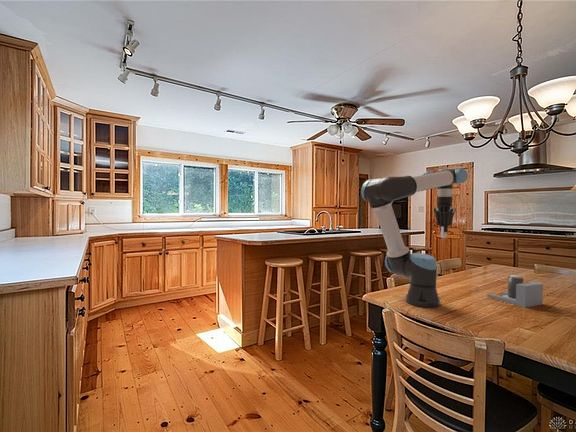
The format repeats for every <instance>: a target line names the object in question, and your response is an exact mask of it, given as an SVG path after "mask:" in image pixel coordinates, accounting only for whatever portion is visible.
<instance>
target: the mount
mask: <svg viewBox="0 0 576 432" xmlns="http://www.w3.org/2000/svg"><path fill="white" fill-rule="evenodd" d="M505 295H508V291H501V296H500V295H498V294H492V293H490V292H489V293H487V294H486V297H488V298H492V299H494V300H497V301H501V302H505V303H508V304H512V305H515V306H518V307H522V308H530V307H535V306H541V305H543V302H544V301H543V299H544V298H543V297H544V283H540V282H535V281H530V282H523V283H522V284H516V301H515V300H511V299H508V298H504V297H502V296H505Z"/></svg>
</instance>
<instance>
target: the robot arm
mask: <svg viewBox="0 0 576 432" xmlns="http://www.w3.org/2000/svg"><path fill="white" fill-rule="evenodd" d="M468 177H469V175H468V171H467V169H465V168H463V167H462V168H440V169H439V170H436V171H433V170H432V171H431V170H430V171H428V170H427V171H424V172H423V173H422V174H420V175H417V176H412V175H405V176H385V177H378V178H377V177H375V178H371V179H367V180H366V181H364V183H363V184H362V187H361V189H360V190H361V191H360V195H361V198H362V199H363V200H364V201H365V202H368V203H369V207H370V209H372V210H374V213H375V215H376V219H377V221H378V224H379V228H380V230H381V233H382V236H383V240H384V241H385V245H386V248H387V251H386V253H385V254H386V256H385V259H384V265H385V267H386V269H387V270H388V272H390V273H392V274H394V275H397V276H401V277H405V278H408V279H409V287H408V290H407V293H406V295H405V302H406V303H408V304H409V305H412V306H415V307H420V308H439V307H440V305H441V299H440V297H439V295H438V293H439V292H438V290H437V274H438V273H437V270H438V266H437V259H436V258H435V257H434V256H432V255H430V254H426V253H420V252H413V253H411V251H410V248H409V247H408V246H406V245H405V242H404V239H403V237H402V233H401V231H400V227H399V224H398V221H397V218H396V215H395V211H394V209H393V206H392V204H393V202H394V201H397V200H401V199H404V198H408V197H411V196H414V195H415V194H416V193H419V192H424V191H427V190H429V191H430V190H432V189H437V200H436V201H437V203H436V204H437V207H435V208H433V211H434V213H435V220H436V225H437V226H439V231H440V238H441V239H447V233H448V232H449V229H448V228H449V227H451V226H452V224H453V219H454V214H455V212H456V211H457V209H456V208H453V205H452V203H453V185H455V184H464V183H466V181H467V180H468Z"/></svg>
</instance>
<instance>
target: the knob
mask: <svg viewBox="0 0 576 432" xmlns="http://www.w3.org/2000/svg"><path fill="white" fill-rule="evenodd" d="M522 283H524V277H522V275H518V274H510V276H508V277H507V292H508V295H501V297H504V298H508V299H511V300H515V301H516V284H522Z"/></svg>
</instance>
